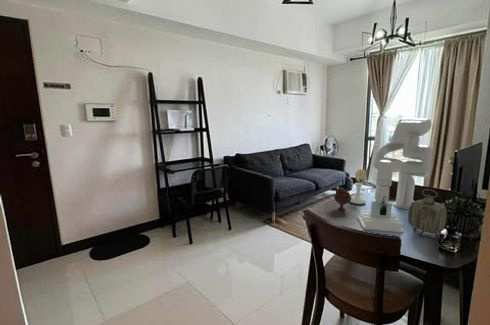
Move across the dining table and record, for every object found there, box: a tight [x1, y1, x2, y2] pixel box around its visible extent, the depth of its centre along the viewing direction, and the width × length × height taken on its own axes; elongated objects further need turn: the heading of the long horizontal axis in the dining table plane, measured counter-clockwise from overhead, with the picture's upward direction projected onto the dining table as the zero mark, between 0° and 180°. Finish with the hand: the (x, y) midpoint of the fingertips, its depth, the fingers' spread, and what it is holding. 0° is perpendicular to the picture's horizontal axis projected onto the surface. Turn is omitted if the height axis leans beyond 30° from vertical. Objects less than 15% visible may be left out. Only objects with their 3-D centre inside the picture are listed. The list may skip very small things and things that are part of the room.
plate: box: [369, 200, 393, 219], centre depth 148 cm, size 10×2×12 cm, turn 77°
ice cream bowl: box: [333, 187, 352, 213], centre depth 170 cm, size 11×11×15 cm
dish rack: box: [357, 209, 404, 233], centre depth 149 cm, size 20×15×5 cm
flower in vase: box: [349, 168, 367, 205], centre depth 182 cm, size 13×11×25 cm
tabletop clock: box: [407, 188, 448, 239], centre depth 134 cm, size 14×9×25 cm, turn 33°
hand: (380, 211), depth 148 cm, fingers open, 8 cm apart
